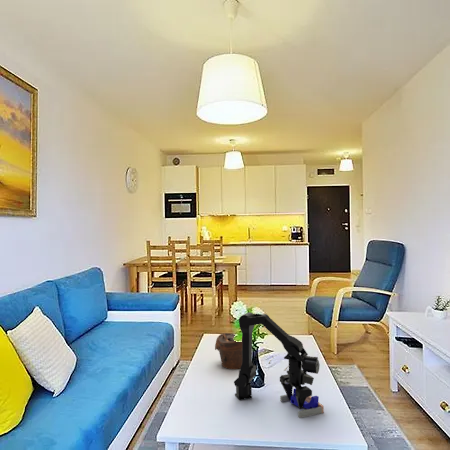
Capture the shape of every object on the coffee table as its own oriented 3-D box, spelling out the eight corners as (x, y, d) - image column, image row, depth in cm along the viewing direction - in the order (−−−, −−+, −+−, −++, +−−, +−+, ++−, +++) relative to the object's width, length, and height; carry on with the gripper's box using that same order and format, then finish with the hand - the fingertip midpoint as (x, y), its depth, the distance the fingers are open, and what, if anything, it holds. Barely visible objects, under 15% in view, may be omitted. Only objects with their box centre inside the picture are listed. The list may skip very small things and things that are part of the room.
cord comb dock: (299, 417, 170) (299, 410, 170) (280, 400, 186) (280, 394, 186) (323, 412, 174) (323, 405, 174) (302, 396, 190) (302, 390, 190)
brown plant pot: (217, 358, 242) (216, 329, 242) (250, 359, 240) (250, 330, 240) (213, 370, 225) (212, 338, 224) (249, 371, 223) (248, 339, 222)
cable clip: (290, 402, 183) (291, 389, 184) (297, 401, 186) (298, 387, 186) (310, 412, 174) (311, 398, 174) (317, 410, 176) (318, 396, 177)
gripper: (322, 374, 173) (322, 410, 173) (300, 360, 191) (300, 392, 191) (300, 378, 169) (300, 415, 170) (279, 363, 187) (279, 396, 187)
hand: (295, 404), depth 179 cm, fingers open, 9 cm apart
